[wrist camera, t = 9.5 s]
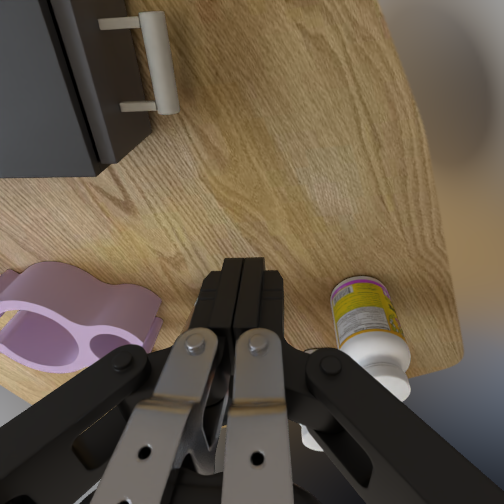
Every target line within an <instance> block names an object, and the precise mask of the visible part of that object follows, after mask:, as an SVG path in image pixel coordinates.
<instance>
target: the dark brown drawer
mask: <svg viewBox="0 0 504 504" xmlns="http://www.w3.org/2000/svg"><path fill="white" fill-rule="evenodd" d="M46 1H47V4H48V7H49V10H50V13H51V17H52V20H53V23H54V26H55V29H56V32H57V35H58V39H59V42H60V45H61V48H62V51H63V54H64V58H65V61H66V64H67V67H68V70H69V73H70V76H71V80H72V83H73V86H74V89H75V92H76V95H77V98H78V102H79V105H80V108H81V111H82V114H83V117H84V120H85V124H86V127H87V130H88V133H89V136H90V139H91V143H92V146H93V145H96V148H97V151H98V155H99V158H100V161H101V164H117V163H118V162H119V161H120V160H121V159H122V158H124V157H125V156H126V155H127V154H128V153H129V152H130V151H131V150H133V149H134V148H135V147H136V146H137V145H138V144H139V143H140V142H142V141H143V140H144V139H145V138H146V137H147V136H148V135H150V134H151V133H152V130H151V125H150V120H149V116H148V111H157V110H158V113H159V114H161V115H171V114H176V113H179V112H180V106H179V100H178V93H177V87H176V81H175V75H174V68H173V62H172V56H171V50H170V44H169V37H168V31H167V25H166V19H165V13H164V11H149V12H139V16H136V17H127V12H126V8H125V3H124V0H46ZM130 28H141V29H142V34H143V39H144V44H145V50H146V55H147V60H148V65H149V70H150V75H151V80H152V85H153V90H154V95H155V101H145V97H144V92H143V87H142V83H141V78H140V73H139V69H138V64H137V59H136V55H135V50H134V45H133V41H132V36H131V31H130Z"/></svg>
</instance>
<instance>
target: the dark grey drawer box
mask: <svg viewBox="0 0 504 504" xmlns="http://www.w3.org/2000/svg"><path fill="white" fill-rule="evenodd" d="M109 165H110V164H101V161H100V158H99V155H98V151H97V148H96V145H93V146H92V143H91V139H90V136H89V133H88V130H87V127H86V124H85V120H84V117H83V114H82V111H81V108H80V105H79V102H78V98H77V95H76V92H75V89H74V86H73V83H72V80H71V76H70V73H69V70H68V67H67V64H66V61H65V58H64V54H63V51H62V48H61V45H60V42H59V39H58V35H57V32H56V29H55V26H54V23H53V20H52V17H51V13H50V10H49V7H48V4H47V1H46V0H0V178H50V177H97V176H98V175H99V174H100V173H101V172H102V171H103V170H105V169H106V168H107V167H108V166H109Z"/></svg>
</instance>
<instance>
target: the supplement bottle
mask: <svg viewBox="0 0 504 504" xmlns="http://www.w3.org/2000/svg"><path fill="white" fill-rule="evenodd" d="M330 301H331V309H332V315H333V322H334V328H335V334H336V341H337V347H338V350H341V351H343V352H345V353H346V354H347V355H349V356H350V357H351V358H352V359H353V360H354V361H356V362H357V363H358V364H359V365H360V366H361V367H362V368H364V369H365V370H366V371H367V372H368V373H369V374H370V375H372V376H373V377H374V378H375V379H376V380H377V381H378V382H380V383H381V384H382V385H383V386H384V387H385V388H386V389H388V390H389V391H390V392H391V393H392V394H393V395H394V396H396V397H397V398H398V399H399V400H400V401H401V402H402V401H404V400H405V399H406V398H407V397H408V396H409V394H410V391H411V389H410V385H409V381H408V378H407V375H406V374H405V372H406V370H407V369H408V367H409V365H410V360H411V355H410V351H409V348H408V345H407V342H406V340H405V337H404V334H403V331H402V329H401V326H400V323H399V320H398V318H397V315H396V312H395V309H394V307H393V304H392V301H391V298H390V296H389V293H388V291H387V289H386V287H385V286H384V285H383V284H382V283H381V282H380V281H378V280H377V279H374V278H372V277H367V276H357V277H352V278H348V279H346V280H344V281H342V282H341V283H339V284H338V285H337V286H336V287H335V288H334V290H333V292H332V294H331V299H330Z"/></svg>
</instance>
